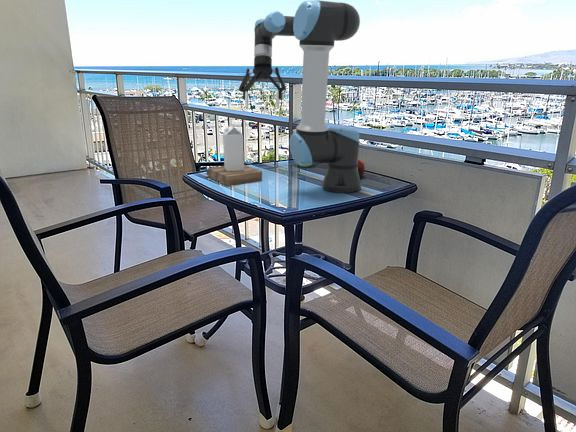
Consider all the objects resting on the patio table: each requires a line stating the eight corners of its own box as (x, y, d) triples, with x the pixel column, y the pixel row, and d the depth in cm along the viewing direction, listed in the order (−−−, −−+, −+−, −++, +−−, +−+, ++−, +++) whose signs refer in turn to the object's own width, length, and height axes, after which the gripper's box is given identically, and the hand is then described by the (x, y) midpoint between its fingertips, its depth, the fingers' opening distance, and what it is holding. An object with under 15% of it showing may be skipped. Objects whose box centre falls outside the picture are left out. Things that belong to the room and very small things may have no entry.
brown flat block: (262, 180, 174) (261, 171, 173) (227, 186, 165) (227, 176, 164) (239, 171, 189) (239, 162, 188) (206, 176, 181) (206, 167, 179)
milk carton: (240, 167, 180) (239, 122, 173) (244, 170, 173) (242, 124, 167) (224, 168, 178) (222, 122, 171) (227, 172, 171) (225, 125, 165)
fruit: (357, 181, 174) (359, 157, 171) (338, 177, 180) (339, 154, 177) (368, 176, 181) (370, 154, 177) (350, 173, 186) (351, 151, 183)
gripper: (293, 59, 180) (292, 108, 180) (237, 62, 184) (236, 110, 184) (290, 52, 173) (289, 103, 173) (232, 55, 177) (231, 105, 176)
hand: (262, 107), depth 178 cm, fingers open, 13 cm apart
